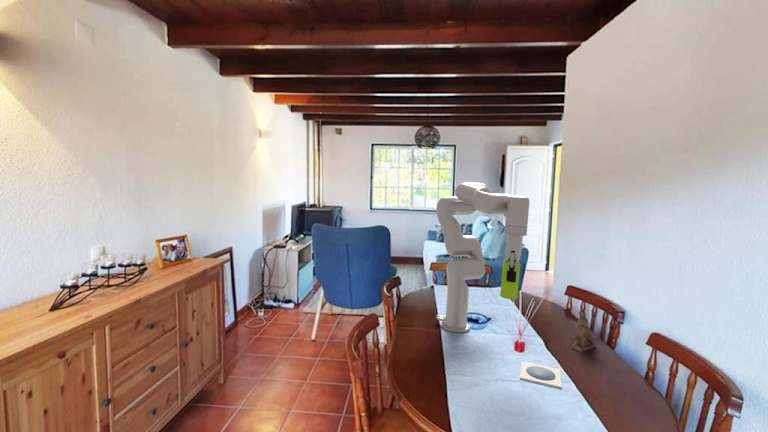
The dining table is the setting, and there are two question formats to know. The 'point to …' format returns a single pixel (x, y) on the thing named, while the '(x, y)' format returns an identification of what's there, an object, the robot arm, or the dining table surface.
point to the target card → (541, 374)
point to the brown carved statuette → (582, 334)
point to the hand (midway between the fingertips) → (511, 279)
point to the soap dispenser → (509, 288)
